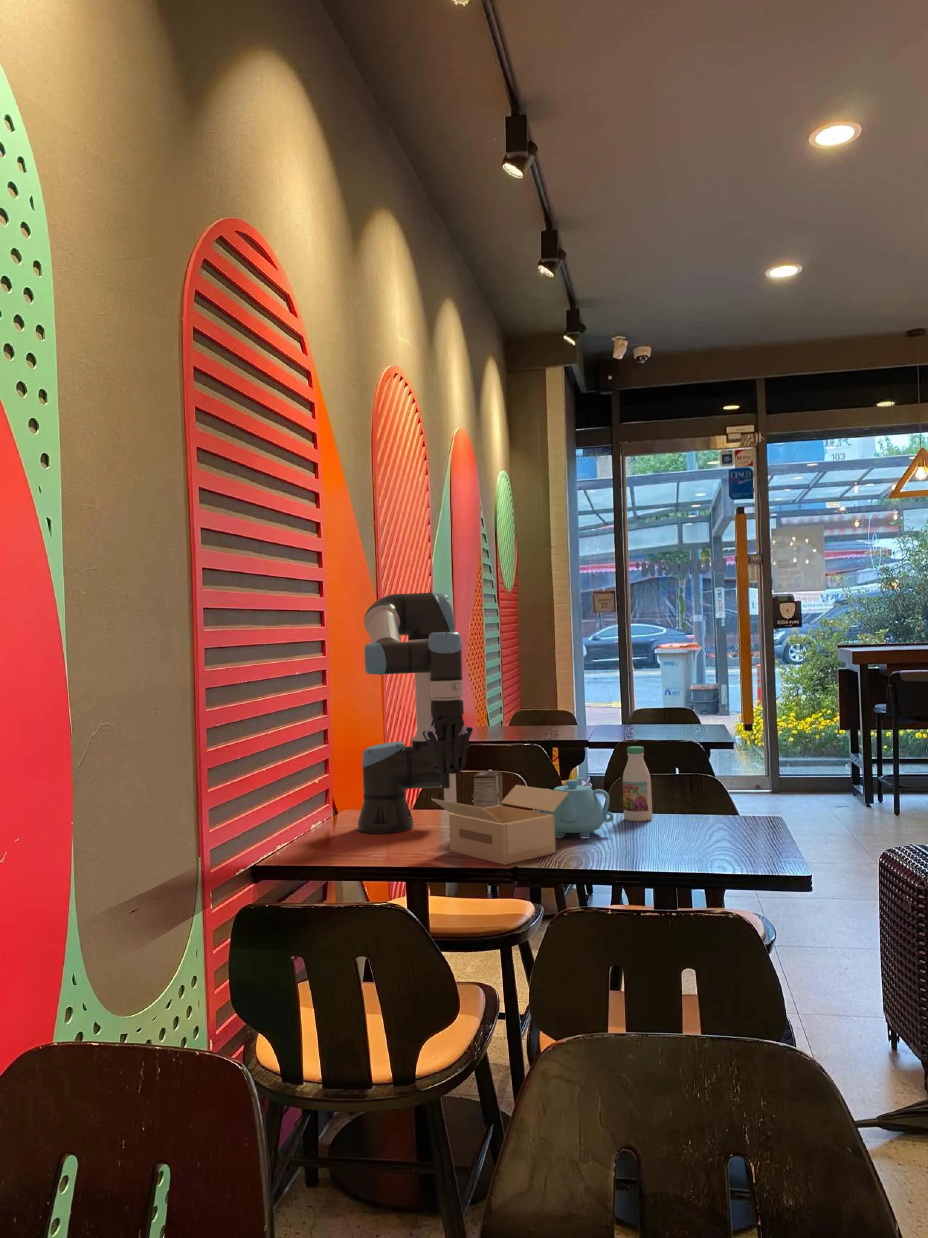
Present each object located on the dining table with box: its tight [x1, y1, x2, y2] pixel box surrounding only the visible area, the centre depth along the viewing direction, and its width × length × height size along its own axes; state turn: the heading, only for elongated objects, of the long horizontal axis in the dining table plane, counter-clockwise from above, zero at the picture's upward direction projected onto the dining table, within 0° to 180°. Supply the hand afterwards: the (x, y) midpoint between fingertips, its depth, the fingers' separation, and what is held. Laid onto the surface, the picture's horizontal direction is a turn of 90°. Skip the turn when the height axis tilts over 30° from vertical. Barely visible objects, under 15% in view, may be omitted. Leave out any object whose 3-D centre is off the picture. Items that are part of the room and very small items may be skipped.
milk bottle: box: [622, 745, 653, 822], centre depth 261 cm, size 8×8×20 cm
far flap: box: [501, 784, 569, 812], centre depth 232 cm, size 19×1×6 cm
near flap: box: [430, 798, 501, 822], centre depth 219 cm, size 19×1×6 cm
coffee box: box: [472, 770, 504, 808], centre depth 247 cm, size 9×6×16 cm
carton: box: [448, 805, 557, 866], centre depth 226 cm, size 21×16×9 cm
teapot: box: [536, 774, 614, 838], centre depth 243 cm, size 16×20×14 cm
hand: (450, 801), depth 217 cm, fingers closed
